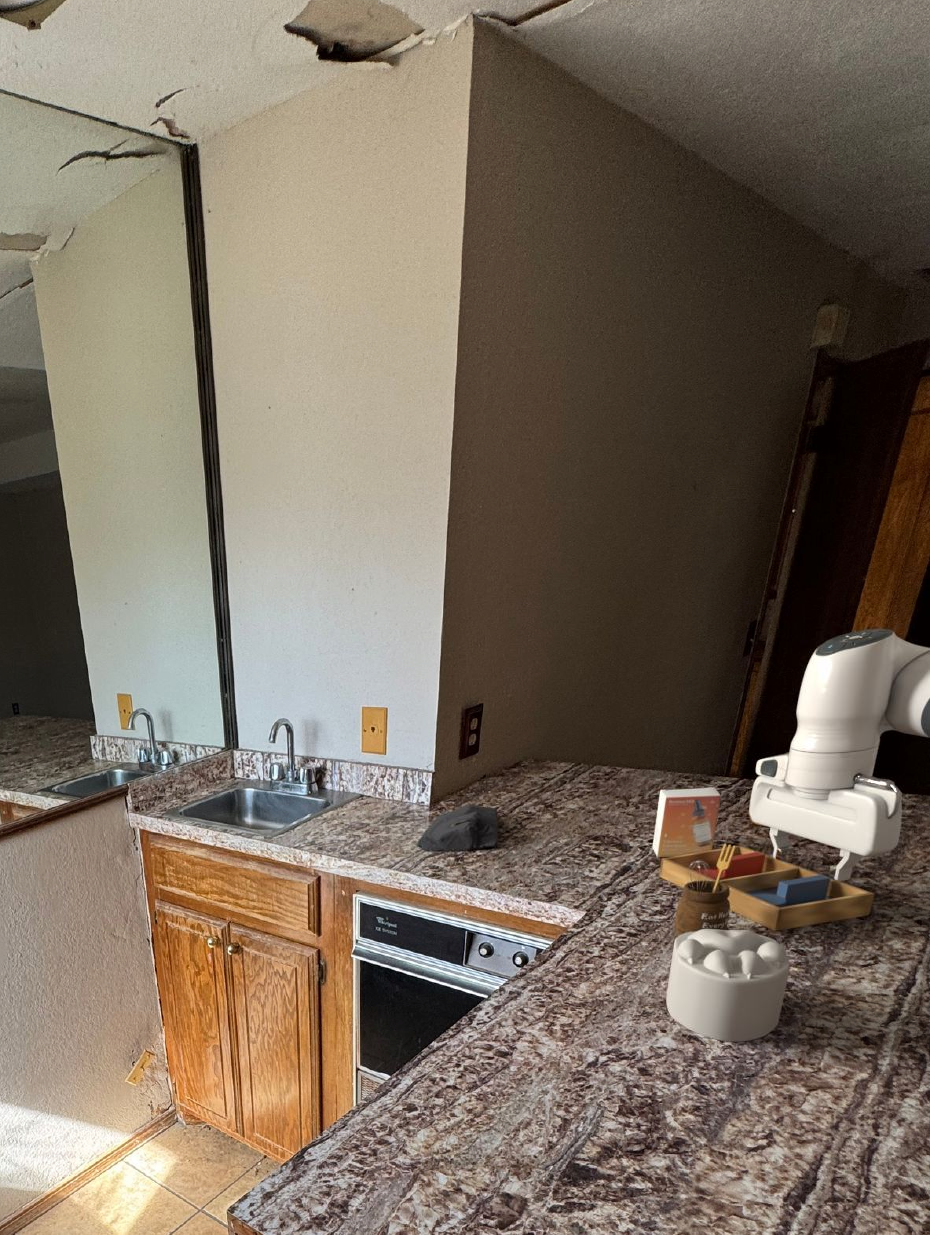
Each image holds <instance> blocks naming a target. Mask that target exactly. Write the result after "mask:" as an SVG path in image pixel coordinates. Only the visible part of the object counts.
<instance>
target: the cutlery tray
mask: <svg viewBox="0 0 930 1235" xmlns="http://www.w3.org/2000/svg"><path fill="white" fill-rule="evenodd" d="M735 846H736V848H735V851H734V854H733V856H736V855H742V854H748V853H754V852H759V853H762V854H765V853H763V852H760V851H757V850H754V849H752V848H749V847H747V846H744V845H735ZM732 848H733V846H731V848H730V851H729V855H728V857H730V854H731V851H732ZM722 849H723V847H722V848H715V849H712V850H710V851H704V852H698V853H692V854H686V855H680V856H675V857H662V858H661V859H660V860H661V861H660V868H659V875H658V877H659V878H661V879H663V880H666V881H667V882H669V883H671V884H674V885H676V886H678V887H680V888H682V889H683V888H684V886H685V884H687V883H688V881H689V882H693V881H699V873H698V872H696V870H699V868H700V870H704V869H708V867H709V870H717V871H718V867H717V863H718V860H719V857H720V854H721V852H722ZM727 849H728V847H726V849H725V852H724V855H723V858H724V857H725V854H726V851H727ZM694 861H702V862H701V863H700V862H699V863H698V862H695V863H694ZM692 862H693V864H692V865H691V863H692ZM704 862H705V863H704ZM702 863H703V864H705V867H706V868H705V867H704V865H703V864H702ZM690 865H691V867H689V866H690ZM694 865H695V866H694ZM688 868H689V869H688ZM692 869H693V870H692ZM817 875H823V876H826V877H828V878H829V876H827V875H824V874H822V873H819V872H815V871H813V870H810V869H808V868H805V867H802V866H799V865H796V864H793V863H790V862H788V861H786V860H785V861H780V860H777V859H774V858H773V856H772V855H769V854H765V860H764V865H763V870H762V873H759V874H753V875H747V876H741V877H735V878H729V879H724V880H720V881H719V882H721V883H724V884H726V885H727V886H728V887H729V890H730V895H729V897H728V898H727V899H728V900H729V902H730V911H731V912H733V913H735V914H738V915H739V916H742V917H744V918H746V919H748V920H750V921H752V922H755V923H756V924H759V925H761V926H763V927H765V928H767V929H770V930H771V931H773V932H776V931H783V930H790V929H796V928H802V927H807V926H813V925H819V924H824V923H830V922H836V921H837V922H838V921H843V920H848V919H854V918H860V917H861V918H862V917H866V916H870V913H871V909H872V905H873V902H874V898H875V893H874V892H871V891H868V890H865V889H863V888H860V887H857V886H854V885H852V884H848V883H847V882H844V881H837V880H834V879H831V878H830V882H829V886H828V890H827V895H826V898H824V899H818V900H812V901H806V902H800V903H794V904H788V905H785V907H780V908H779V907H777V906H775V905H772V904H770V903H768V902H766V901H763V900H761V899H759V898H756V897H754V896H752V895H754V894H773V895H777V890H778V886H779V882H781V881H787V880H793V879H799V878H805V877H811V876H817ZM691 877H692V881H691V880H690V878H691ZM701 880H706V876H705V877H704V875H703V874H701V873H700V881H701ZM707 881H716V880H715V879H712V878H710V877H709V879H708V876H707Z"/></svg>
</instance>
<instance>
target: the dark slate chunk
mask: <svg viewBox="0 0 930 1235" xmlns="http://www.w3.org/2000/svg"><path fill="white" fill-rule="evenodd" d="M498 814H499V813H498V810H497V808H495V807H486V806H480V805H476V804H469V805H466V806H462V807H459V808H457V809H454V810H451V811H447V812H444V813H441V814H439V815H437V816H436V818H435V819H434V820H433V821H432V823H431V824H430V825H429V827H427V828H426V829H425V830H424V832H423V833H422V835H421V837H420V838H419V839H418V841H417V843H416V845H415V846H416V847H418V848H420V849H422V851H424V852H426V851H430V852H437V851H444V852H468V851H473V850H482V849H486V848H493V847H495V846H497V844H498V840H499V829H498V828H499V820H498Z"/></svg>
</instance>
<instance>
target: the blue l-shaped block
mask: <svg viewBox="0 0 930 1235" xmlns="http://www.w3.org/2000/svg"><path fill="white" fill-rule="evenodd" d="M823 875H824V874H821V875H817V876H811V877H805V878H799V879H793V880H787V881H781V882H779V886H778V890H777V895H773V894H754V895H752V896H754V897H756V898H759V899H761V900H763V901H766V902H768V903H770V904H772V905H775V906H777V907H779V908H780V907H785V905H788V904H794V903H800V902H806V901H812V900H818V899H824V898H826V895H827V890H828V886H829V882H830V878H828V877H829V876H827V875H824V876H823ZM826 876H827V877H826Z"/></svg>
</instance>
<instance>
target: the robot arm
mask: <svg viewBox="0 0 930 1235" xmlns="http://www.w3.org/2000/svg"><path fill="white" fill-rule="evenodd" d="M795 711H796V713H795V714H796V719H797V720H796V721H797V727H796V731H795V734H794V736H793V738H792V740H791V742H790V747H789V752H785V753H784V754H783V753H782V754H778V755H774V756H768V757H765V758H762V759H759V760H757V761H756V765H755V773H756V775H758V776H757V777H756V779H755V780H754V782H753V785H752V790H751V795H750V801H749V809H748V810H749V814H750V816H751V819H752V821H753V822H755V823H758V824H761V825H765V826H764V827H768V828H769V829H770V830H769V834H768V835H769V837H770V840H771V844H772V846H773V854H772V857H773V858H774V859H777V860H780V861H785V862H786V861H791V860H792V859H793V857H794V853H795V847H794V846H791V842H790V837H789V834H790V835H795V836H797V837H801V838H804V839H806V840H807V839H808V840H810V841H814V842H817V843H820V844H824V845H827V846H830V847H833V848H836V849H840V850H839V857H841V858H842V859H841V860H840V861H839V862H838V864H834V865H833V864H832V865H830V866H829V873H828V876H827V877H829V878H831V879H834V880H837V881H841V882H844V881H848V880H850V878H851V877H852V874H853V873H852V872H853V868H854V867H855V866H856V865H857V864H859V863H860V861H861V860H862V859H863V858H864V857H875V856H880V855H884V854H888V853H890V852H892V851H893V850H894V849H895V848H897V847H898V844H899V842H900V836H901V827H902V817H903V805H902V800H903V793H902V791H901V790H900V789H899V788H898V786H897V785H895V781H892V780H890V779H888V778H878V777H876V776H873V773H874V769H875V764H876V760H877V755H878V750H879V746H880V742H881V738H880V737H881V735H882V734H883V733H884V732H887V731H896V732H900V733H903V734H908V735H913V736H919V737H923V738H924V737H925V738H929V739H930V647H927V646H922V645H918V644H914V643H911V642H909V641H906V640H904V639H903V638H901V637H898V635H896V633H895V632H894V630H891V629H886V628H872V629H863V630H858V631H852V632H848V633H844V634H841V635H838V636H835V637H833V638H831V639H827V640H826V641H825V642H823V643H821V644H820V645H818V646H817V648H816V649H815V650H814V652H813V653H812V655H811V657H810V659H809V661H808V664H807V666H806V668H805V671H804V675H803V678H802V681H801V686H800V689H799V694H798V701H797V706H796V710H795ZM749 814H748V815H749ZM752 821H751V822H752ZM753 822H752V823H753ZM755 823H754V824H755ZM761 825H760V826H761Z"/></svg>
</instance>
